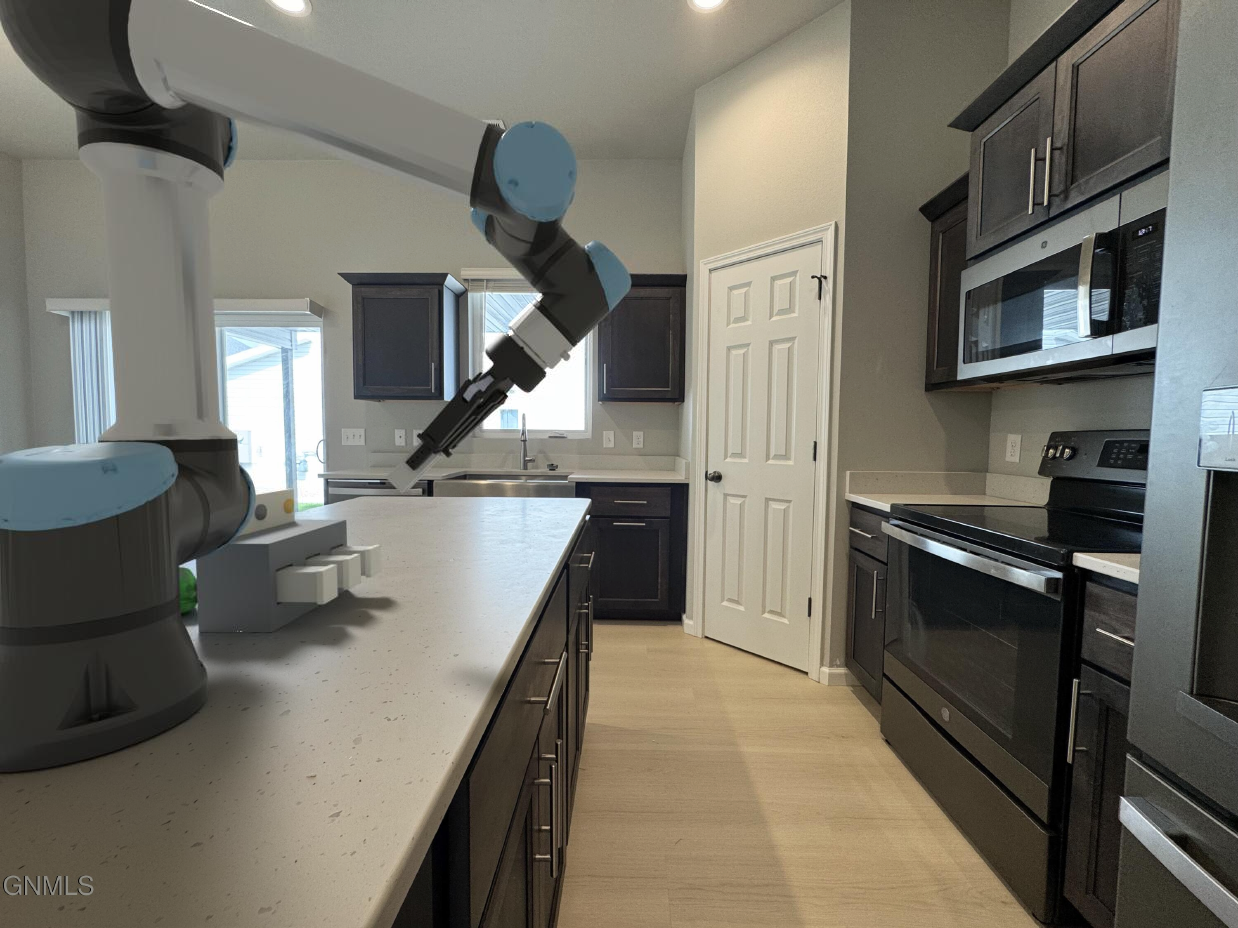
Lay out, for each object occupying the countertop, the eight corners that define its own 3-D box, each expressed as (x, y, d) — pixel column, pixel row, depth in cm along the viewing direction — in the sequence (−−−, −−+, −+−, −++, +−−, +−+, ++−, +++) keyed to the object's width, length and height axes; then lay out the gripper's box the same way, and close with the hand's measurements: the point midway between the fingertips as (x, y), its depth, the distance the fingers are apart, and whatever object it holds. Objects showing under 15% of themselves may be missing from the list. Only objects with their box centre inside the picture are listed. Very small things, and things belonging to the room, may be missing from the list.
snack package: (132, 632, 69) (131, 591, 69) (129, 603, 80) (128, 567, 80) (204, 620, 74) (203, 581, 73) (191, 594, 85) (190, 560, 85)
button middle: (349, 589, 76) (348, 559, 76) (292, 589, 76) (291, 558, 76) (361, 582, 79) (360, 553, 79) (306, 582, 79) (305, 553, 79)
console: (271, 632, 68) (268, 543, 68) (198, 632, 68) (195, 543, 68) (348, 589, 87) (346, 519, 87) (290, 589, 87) (288, 519, 87)
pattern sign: (220, 541, 69) (219, 501, 69) (214, 541, 69) (212, 501, 69) (296, 521, 85) (295, 488, 85) (290, 521, 85) (289, 488, 85)
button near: (323, 604, 69) (322, 570, 69) (261, 603, 70) (260, 570, 69) (337, 596, 73) (336, 564, 73) (278, 595, 73) (277, 564, 73)
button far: (370, 577, 82) (370, 549, 82) (318, 577, 82) (317, 549, 82) (380, 571, 86) (380, 544, 86) (330, 571, 86) (329, 544, 86)
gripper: (541, 365, 63) (395, 513, 64) (556, 378, 76) (436, 499, 77) (493, 318, 62) (348, 466, 63) (516, 338, 76) (397, 460, 77)
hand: (396, 484), depth 70 cm, fingers closed
